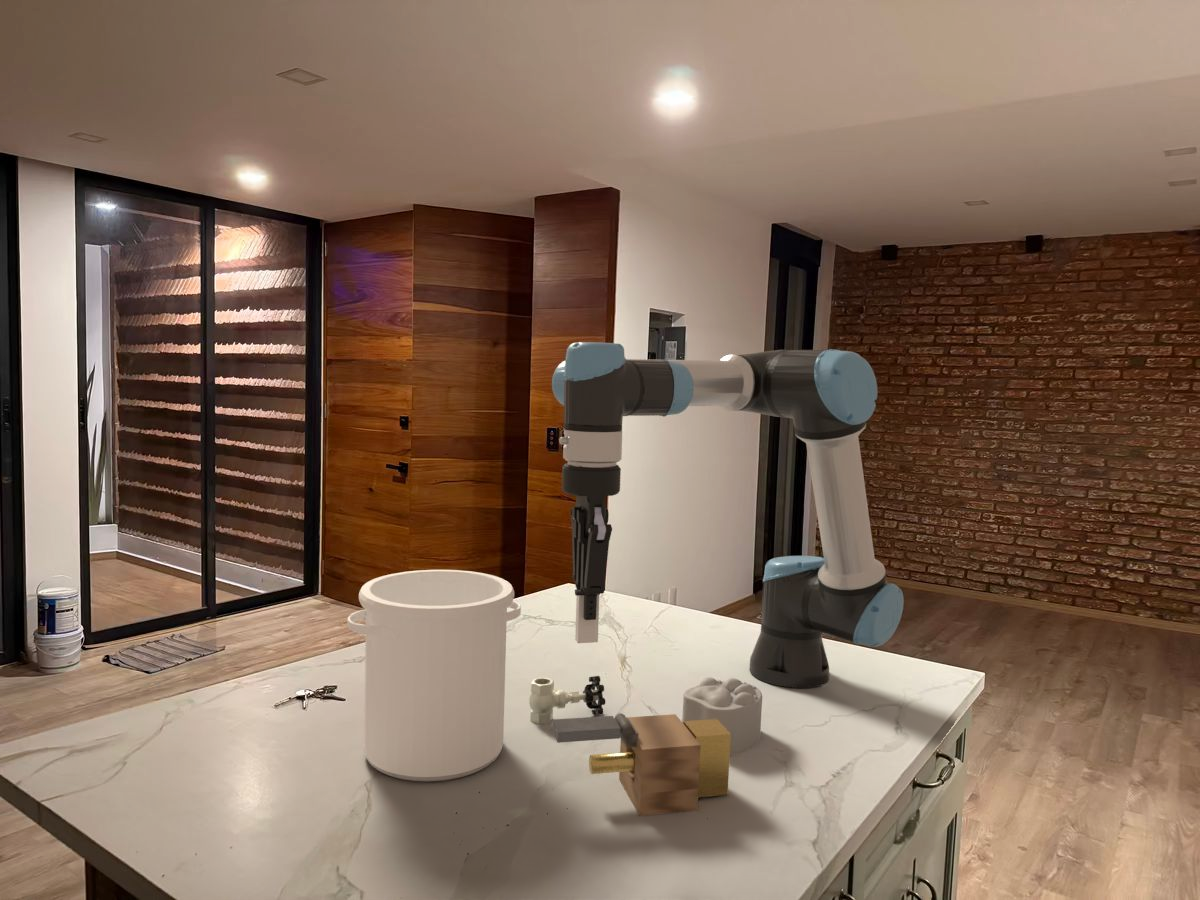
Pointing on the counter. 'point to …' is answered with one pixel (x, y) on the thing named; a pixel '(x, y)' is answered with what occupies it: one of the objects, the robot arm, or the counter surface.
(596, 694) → the valve
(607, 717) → the lever
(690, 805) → the block
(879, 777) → the counter surface
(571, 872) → the counter surface
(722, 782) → the pin
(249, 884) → the counter surface
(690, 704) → the lumpy-topped squat cylinder
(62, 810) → the counter surface
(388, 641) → the bucket
